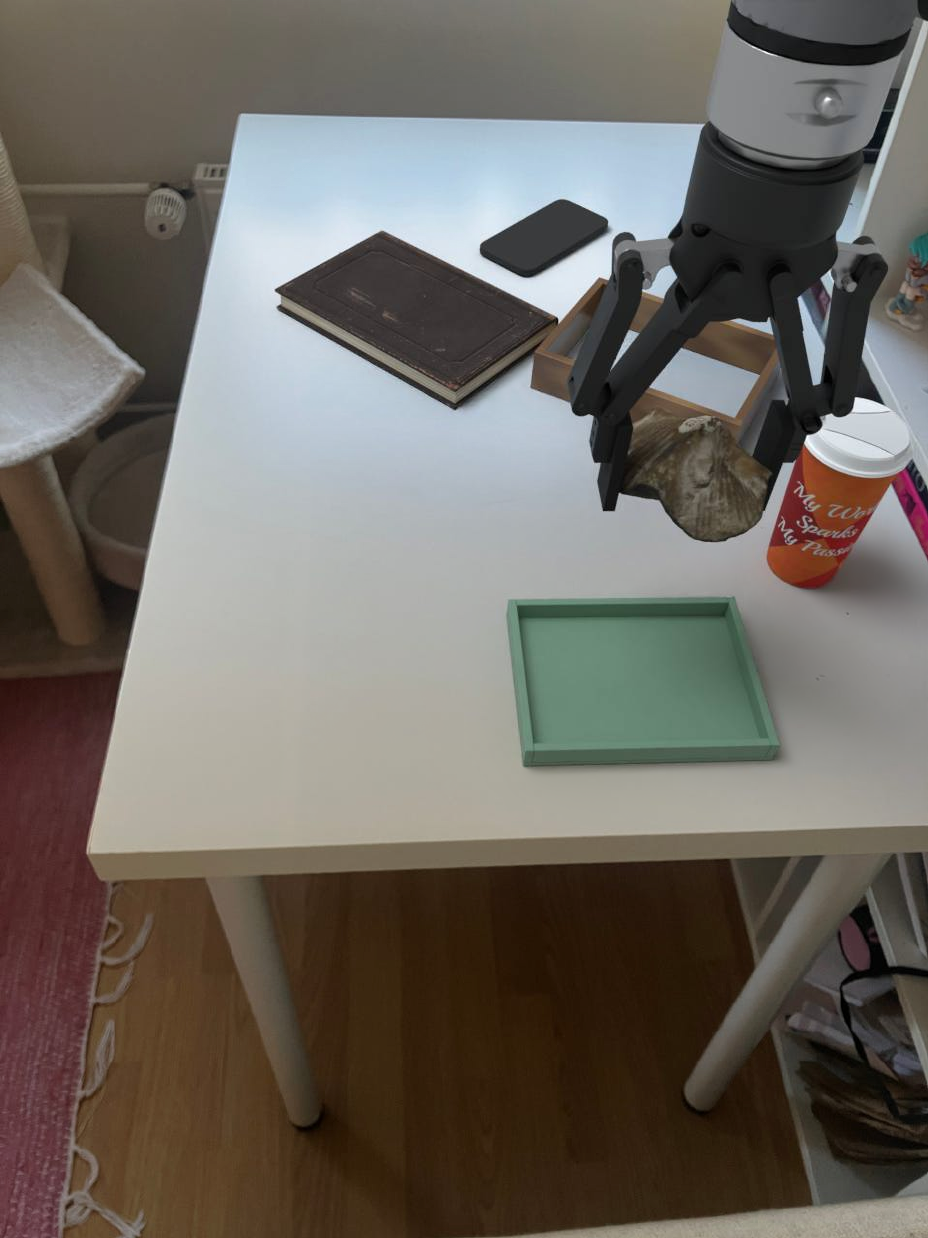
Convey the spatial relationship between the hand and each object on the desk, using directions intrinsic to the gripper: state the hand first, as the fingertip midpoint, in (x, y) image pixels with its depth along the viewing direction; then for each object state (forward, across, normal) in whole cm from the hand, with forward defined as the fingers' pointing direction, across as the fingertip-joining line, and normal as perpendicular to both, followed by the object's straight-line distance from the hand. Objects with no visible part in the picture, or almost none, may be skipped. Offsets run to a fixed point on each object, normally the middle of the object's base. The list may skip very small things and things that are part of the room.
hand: (680, 496), depth 63 cm
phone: (+15, -1, +57) cm, 59 cm away
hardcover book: (+15, -16, +41) cm, 46 cm away
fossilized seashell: (0, 0, 0) cm, 0 cm away
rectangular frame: (+15, +7, +32) cm, 36 cm away
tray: (+15, -1, -4) cm, 15 cm away
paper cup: (+15, +15, +8) cm, 23 cm away
